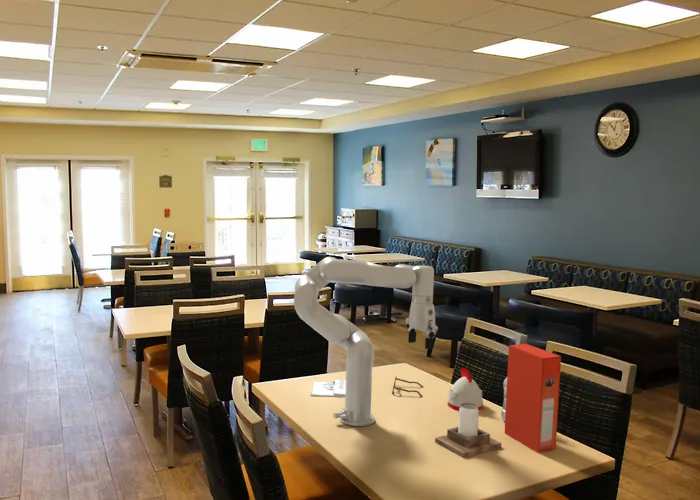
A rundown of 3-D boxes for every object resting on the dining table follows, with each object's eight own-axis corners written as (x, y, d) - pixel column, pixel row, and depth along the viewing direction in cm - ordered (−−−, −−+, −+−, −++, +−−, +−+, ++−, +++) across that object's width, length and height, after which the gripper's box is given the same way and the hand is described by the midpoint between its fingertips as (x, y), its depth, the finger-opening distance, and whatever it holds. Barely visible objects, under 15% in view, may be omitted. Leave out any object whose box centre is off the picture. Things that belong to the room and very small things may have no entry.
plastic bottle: (498, 418, 233) (501, 367, 231) (515, 418, 233) (518, 367, 231) (504, 425, 226) (507, 372, 224) (521, 425, 227) (525, 372, 225)
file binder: (536, 452, 203) (542, 358, 200) (503, 433, 218) (508, 345, 215) (555, 449, 206) (561, 356, 203) (522, 430, 222) (527, 343, 219)
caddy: (463, 457, 197) (464, 444, 197) (435, 442, 209) (435, 429, 208) (501, 447, 206) (501, 434, 206) (471, 432, 218) (472, 420, 217)
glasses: (393, 385, 270) (394, 374, 269) (423, 387, 268) (423, 376, 267) (391, 395, 257) (392, 383, 256) (423, 397, 255) (423, 386, 254)
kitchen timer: (471, 398, 254) (473, 363, 253) (489, 410, 241) (491, 373, 240) (441, 401, 250) (443, 365, 249) (457, 413, 237) (459, 375, 236)
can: (477, 445, 204) (478, 409, 203) (457, 442, 205) (459, 407, 204) (477, 437, 210) (479, 403, 209) (458, 435, 211) (459, 401, 210)
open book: (358, 399, 251) (358, 394, 251) (309, 397, 251) (309, 392, 251) (358, 384, 270) (358, 379, 270) (312, 383, 270) (313, 378, 270)
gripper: (446, 302, 219) (443, 349, 221) (415, 295, 234) (413, 339, 235) (429, 304, 215) (427, 352, 217) (399, 296, 230) (397, 341, 231)
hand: (420, 345), depth 226 cm, fingers open, 9 cm apart
